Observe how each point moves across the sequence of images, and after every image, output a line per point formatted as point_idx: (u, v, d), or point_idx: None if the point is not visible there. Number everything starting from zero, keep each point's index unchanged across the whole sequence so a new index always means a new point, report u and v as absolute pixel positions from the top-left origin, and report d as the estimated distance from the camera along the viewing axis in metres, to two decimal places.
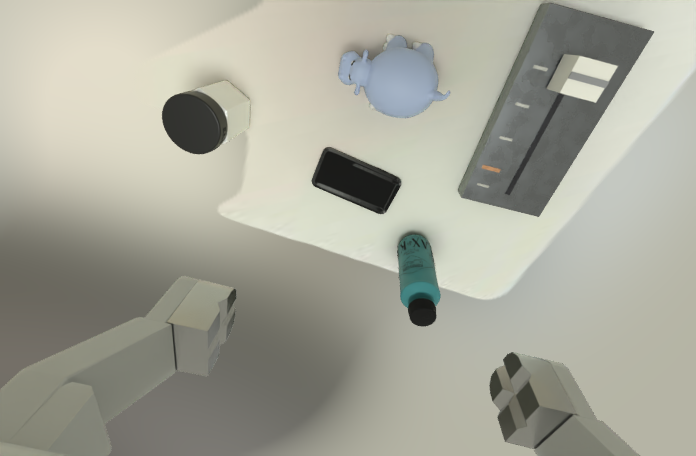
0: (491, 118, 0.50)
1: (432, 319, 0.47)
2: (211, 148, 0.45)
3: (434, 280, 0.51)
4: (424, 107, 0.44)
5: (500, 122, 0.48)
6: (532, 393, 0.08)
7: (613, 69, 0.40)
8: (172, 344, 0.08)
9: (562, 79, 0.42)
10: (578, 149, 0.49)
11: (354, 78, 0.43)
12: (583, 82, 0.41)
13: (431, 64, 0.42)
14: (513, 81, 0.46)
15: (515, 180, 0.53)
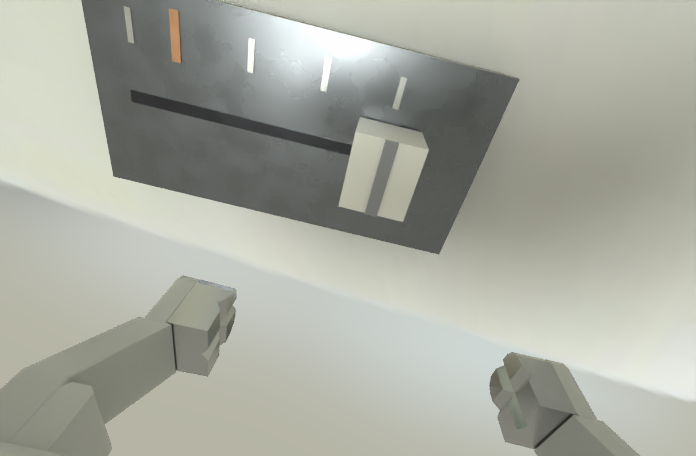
0: (294, 20, 0.22)
1: None
2: None
3: None
4: None
5: (285, 30, 0.20)
6: (532, 393, 0.08)
7: (397, 216, 0.21)
8: (172, 344, 0.08)
9: (381, 133, 0.19)
10: (256, 207, 0.27)
11: None
12: (376, 172, 0.20)
13: None
14: (374, 41, 0.20)
15: (166, 106, 0.23)
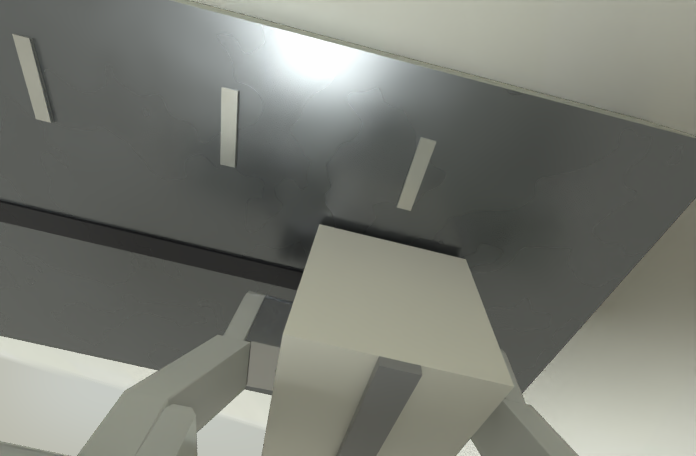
0: None
1: None
2: None
3: None
4: None
5: (103, 14, 0.07)
6: None
7: None
8: (248, 361, 0.08)
9: (366, 313, 0.07)
10: (134, 360, 0.14)
11: None
12: (352, 420, 0.07)
13: None
14: (350, 47, 0.08)
15: None
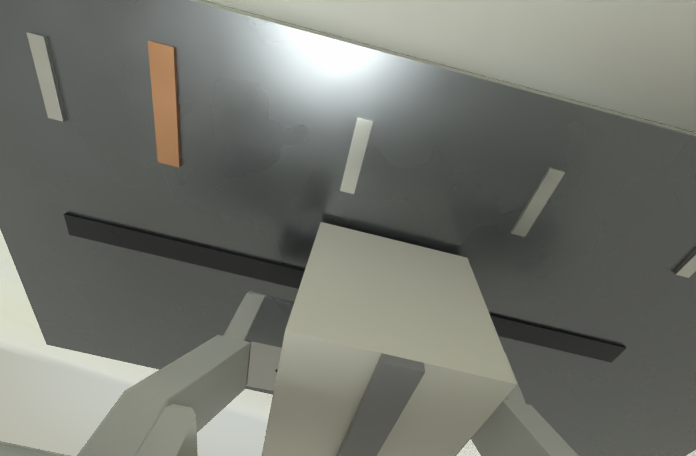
0: (447, 66, 0.09)
1: None
2: None
3: None
4: None
5: (458, 102, 0.08)
6: None
7: None
8: (248, 361, 0.08)
9: (368, 310, 0.07)
10: None
11: None
12: (355, 418, 0.07)
13: None
14: (683, 132, 0.08)
15: (146, 246, 0.11)
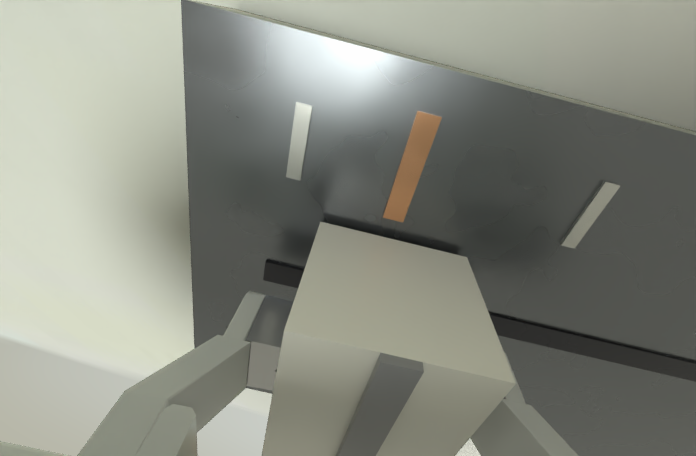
0: (656, 122, 0.10)
1: None
2: None
3: None
4: None
5: None
6: None
7: None
8: (248, 361, 0.08)
9: (368, 310, 0.07)
10: None
11: None
12: (354, 417, 0.07)
13: None
14: None
15: None
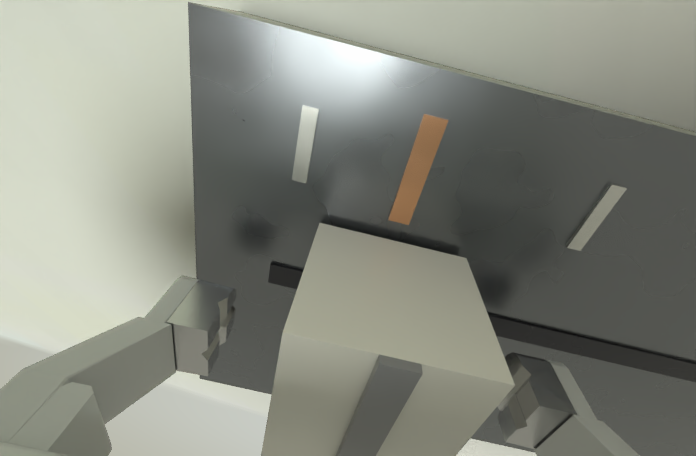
0: (662, 124, 0.10)
1: None
2: None
3: None
4: None
5: None
6: (532, 393, 0.08)
7: None
8: (172, 344, 0.08)
9: (366, 311, 0.07)
10: None
11: None
12: (353, 418, 0.07)
13: None
14: None
15: None
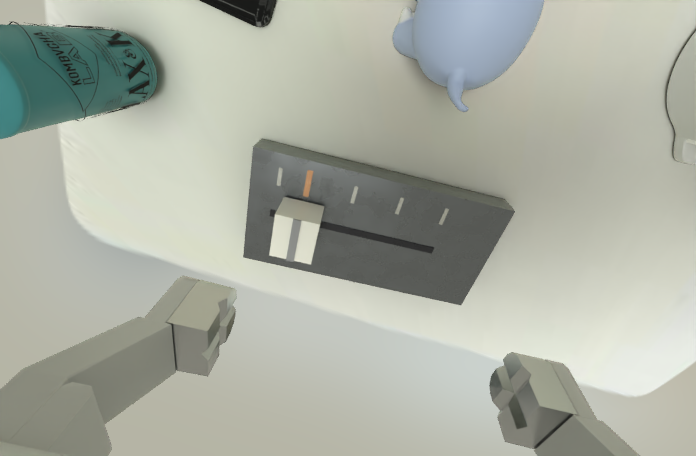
0: (377, 169, 0.35)
1: None
2: None
3: (44, 118, 0.21)
4: (435, 66, 0.24)
5: (377, 183, 0.33)
6: (532, 393, 0.08)
7: (306, 261, 0.33)
8: (172, 344, 0.08)
9: (292, 213, 0.32)
10: (341, 276, 0.40)
11: None
12: (290, 236, 0.32)
13: (499, 75, 0.25)
14: (430, 189, 0.34)
15: None
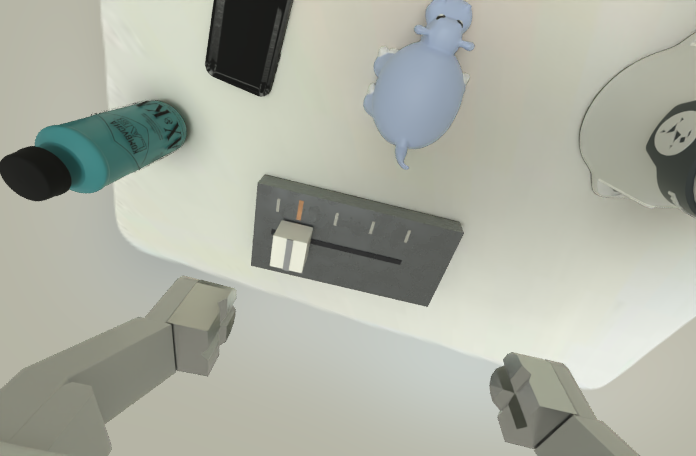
0: (355, 198, 0.44)
1: (30, 196, 0.26)
2: None
3: (116, 177, 0.31)
4: (386, 135, 0.33)
5: (353, 210, 0.43)
6: (532, 393, 0.08)
7: (298, 270, 0.43)
8: (172, 344, 0.08)
9: (287, 234, 0.41)
10: (328, 281, 0.49)
11: (440, 25, 0.28)
12: (285, 252, 0.42)
13: None
14: (395, 215, 0.43)
15: None
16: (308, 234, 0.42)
